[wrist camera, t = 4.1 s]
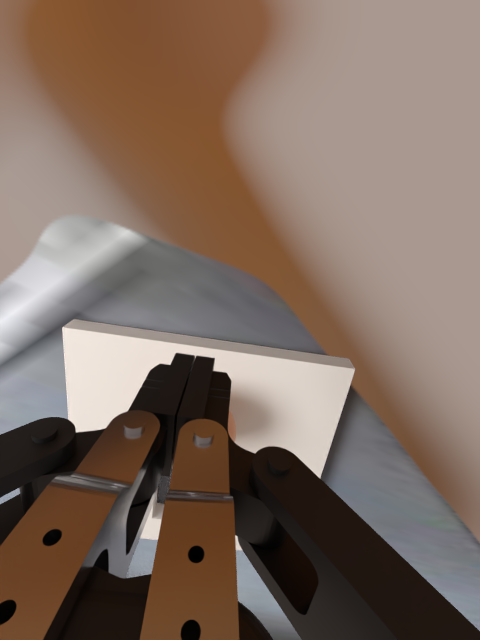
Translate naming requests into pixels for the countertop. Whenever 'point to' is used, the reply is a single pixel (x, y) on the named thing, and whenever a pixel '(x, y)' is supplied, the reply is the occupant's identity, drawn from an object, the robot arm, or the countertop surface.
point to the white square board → (231, 357)
